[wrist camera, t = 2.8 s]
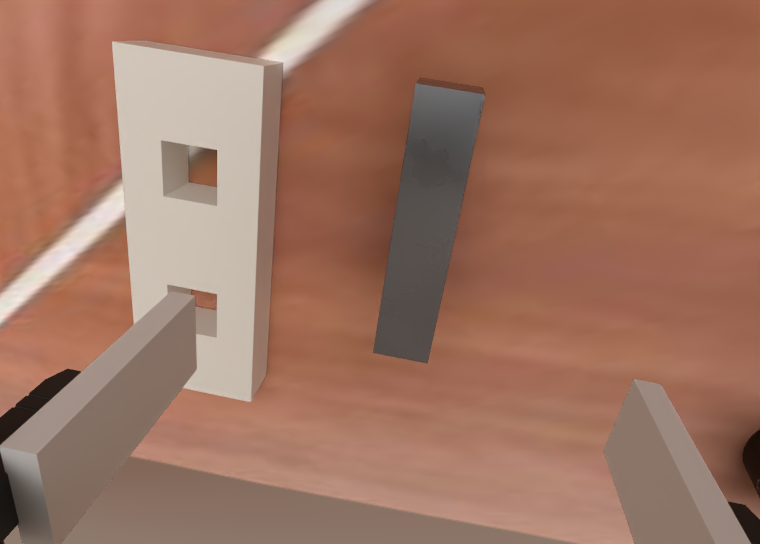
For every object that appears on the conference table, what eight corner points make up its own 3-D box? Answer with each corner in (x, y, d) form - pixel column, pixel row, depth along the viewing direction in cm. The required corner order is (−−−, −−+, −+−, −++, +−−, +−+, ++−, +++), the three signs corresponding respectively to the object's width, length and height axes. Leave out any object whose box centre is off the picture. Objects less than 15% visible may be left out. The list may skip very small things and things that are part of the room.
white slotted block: (145, 40, 33) (111, 41, 30) (283, 62, 33) (263, 66, 29) (161, 353, 44) (138, 378, 40) (266, 375, 43) (250, 402, 40)
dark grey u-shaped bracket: (429, 68, 32) (415, 83, 23) (478, 76, 31) (485, 94, 22) (394, 275, 38) (373, 352, 29) (435, 283, 37) (427, 363, 28)
